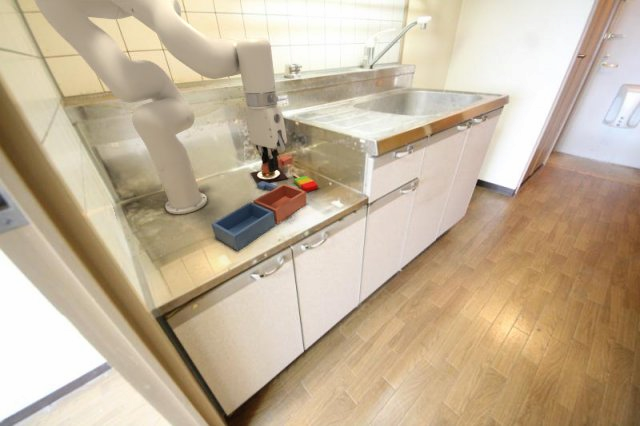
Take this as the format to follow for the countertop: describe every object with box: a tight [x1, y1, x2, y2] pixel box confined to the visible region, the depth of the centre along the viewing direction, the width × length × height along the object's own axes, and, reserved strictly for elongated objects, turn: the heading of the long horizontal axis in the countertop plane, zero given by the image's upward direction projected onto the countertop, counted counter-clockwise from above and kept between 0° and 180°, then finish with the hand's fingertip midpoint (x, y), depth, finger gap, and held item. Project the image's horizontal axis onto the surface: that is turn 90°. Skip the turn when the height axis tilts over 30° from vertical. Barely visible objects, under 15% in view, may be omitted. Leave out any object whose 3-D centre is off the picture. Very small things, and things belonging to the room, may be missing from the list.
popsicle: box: [292, 173, 319, 193], centre depth 96 cm, size 6×15×2 cm, turn 31°
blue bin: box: [210, 201, 276, 252], centre depth 71 cm, size 10×14×5 cm
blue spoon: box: [256, 181, 280, 192], centre depth 92 cm, size 10×3×2 cm, turn 54°
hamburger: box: [250, 166, 289, 185], centre depth 101 cm, size 12×12×6 cm
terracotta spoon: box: [261, 155, 293, 173], centre depth 73 cm, size 10×3×2 cm, turn 144°
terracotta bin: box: [252, 183, 307, 225], centre depth 80 cm, size 10×14×5 cm
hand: (271, 169), depth 72 cm, fingers closed on terracotta spoon, 1 cm apart
